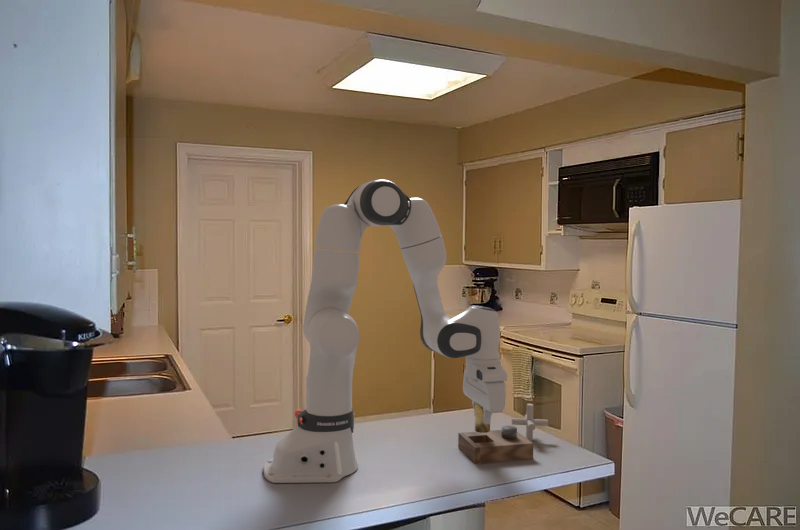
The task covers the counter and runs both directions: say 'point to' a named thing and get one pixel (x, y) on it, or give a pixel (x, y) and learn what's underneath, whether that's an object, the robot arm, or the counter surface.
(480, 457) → the jig
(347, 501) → the counter surface
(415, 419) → the counter surface
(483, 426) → the tan cylinder
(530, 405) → the pipe connector
